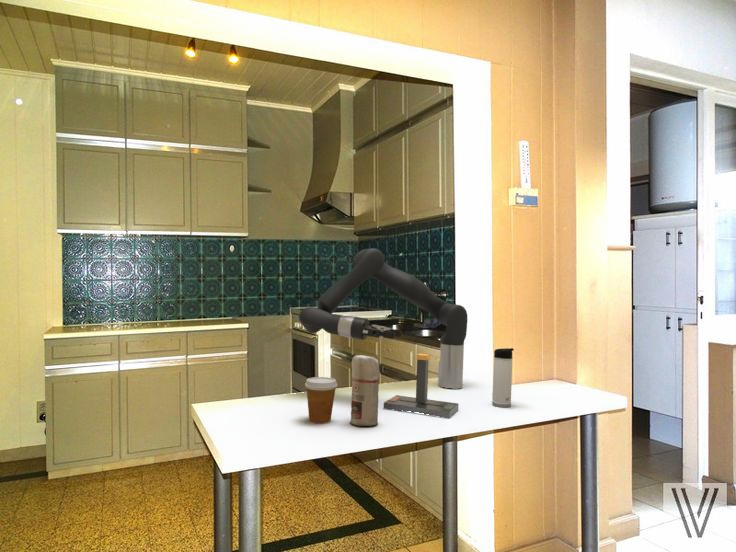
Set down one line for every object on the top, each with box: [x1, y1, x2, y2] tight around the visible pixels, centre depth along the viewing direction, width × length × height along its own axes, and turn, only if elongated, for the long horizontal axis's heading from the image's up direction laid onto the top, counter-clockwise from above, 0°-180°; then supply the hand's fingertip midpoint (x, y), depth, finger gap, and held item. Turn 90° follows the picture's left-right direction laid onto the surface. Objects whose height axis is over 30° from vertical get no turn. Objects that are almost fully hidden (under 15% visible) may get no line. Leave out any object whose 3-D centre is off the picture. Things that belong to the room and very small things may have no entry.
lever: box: [415, 353, 430, 403], centre depth 163 cm, size 3×3×16 cm
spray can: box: [349, 354, 380, 427], centre depth 144 cm, size 8×8×20 cm
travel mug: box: [491, 347, 514, 409], centre depth 171 cm, size 6×7×20 cm
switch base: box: [383, 394, 460, 419], centre depth 163 cm, size 22×12×2 cm, turn 66°
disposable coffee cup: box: [304, 376, 338, 424], centre depth 146 cm, size 10×10×12 cm
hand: (398, 334), depth 166 cm, fingers open, 8 cm apart
